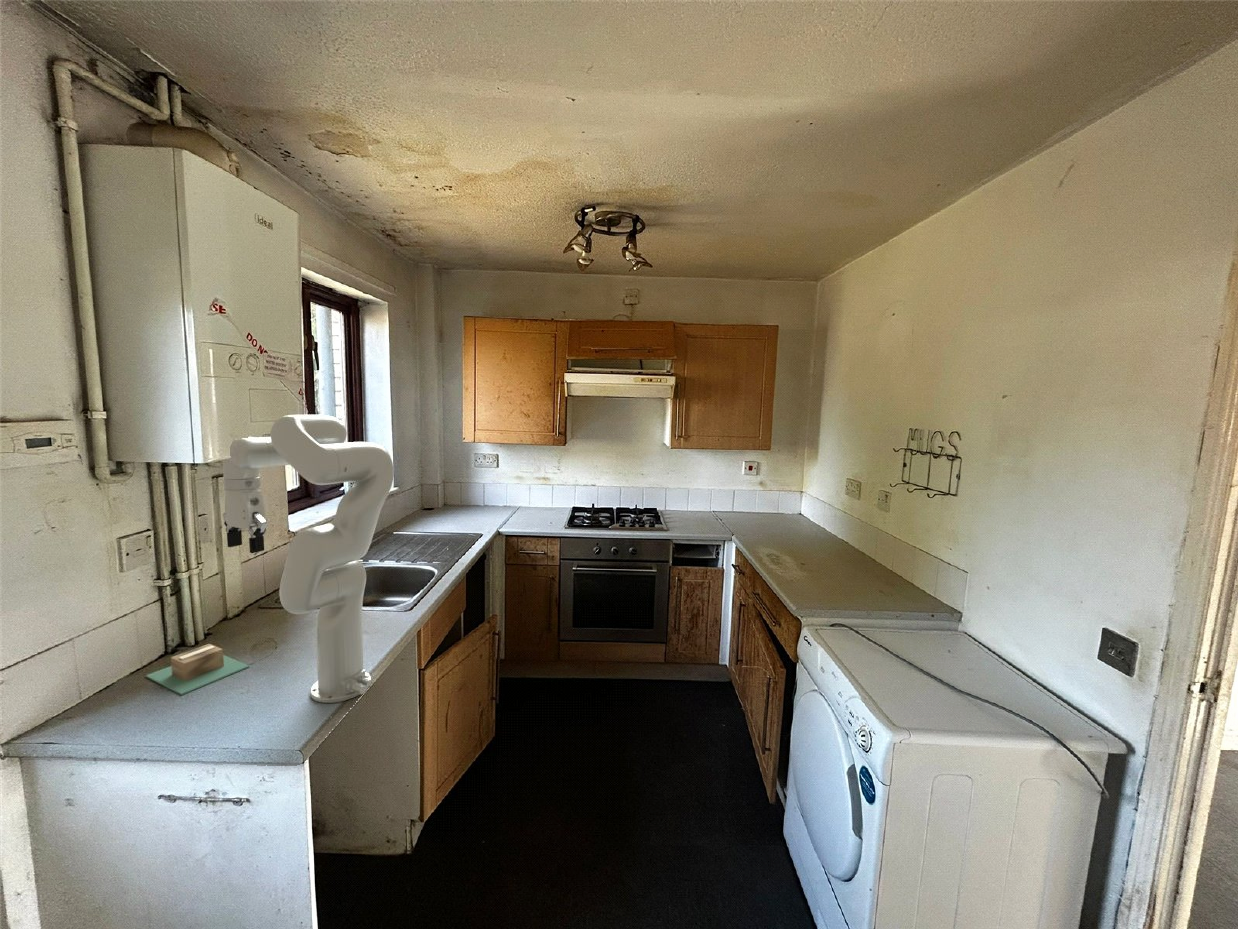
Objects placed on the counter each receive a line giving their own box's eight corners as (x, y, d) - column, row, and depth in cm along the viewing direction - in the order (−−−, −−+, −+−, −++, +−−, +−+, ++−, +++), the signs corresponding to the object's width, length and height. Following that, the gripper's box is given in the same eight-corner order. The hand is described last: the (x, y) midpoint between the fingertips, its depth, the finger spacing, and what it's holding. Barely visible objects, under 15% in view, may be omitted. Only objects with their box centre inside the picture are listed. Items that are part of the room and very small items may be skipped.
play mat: (248, 667, 126) (248, 665, 126) (181, 695, 114) (181, 693, 114) (213, 651, 133) (213, 650, 133) (146, 676, 120) (145, 675, 120)
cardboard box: (185, 681, 118) (184, 662, 118) (172, 674, 121) (170, 656, 120) (223, 666, 126) (222, 648, 125) (210, 660, 128) (209, 642, 128)
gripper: (278, 485, 128) (281, 550, 130) (238, 479, 136) (242, 540, 138) (246, 490, 122) (250, 558, 124) (206, 482, 129) (210, 547, 131)
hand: (245, 548), depth 131 cm, fingers open, 9 cm apart
